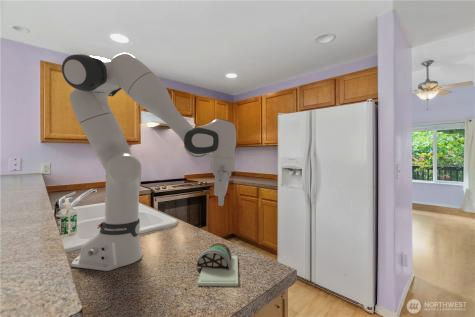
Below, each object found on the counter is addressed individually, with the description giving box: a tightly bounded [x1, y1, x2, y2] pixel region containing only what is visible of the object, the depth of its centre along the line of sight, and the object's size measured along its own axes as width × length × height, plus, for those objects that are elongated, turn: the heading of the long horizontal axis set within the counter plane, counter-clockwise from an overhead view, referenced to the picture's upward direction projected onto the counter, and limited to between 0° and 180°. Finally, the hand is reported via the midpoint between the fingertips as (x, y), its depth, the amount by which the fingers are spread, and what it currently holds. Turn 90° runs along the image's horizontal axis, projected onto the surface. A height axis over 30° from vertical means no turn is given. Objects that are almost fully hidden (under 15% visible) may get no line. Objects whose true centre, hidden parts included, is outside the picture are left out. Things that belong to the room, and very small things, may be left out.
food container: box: [195, 242, 232, 270], centre depth 79 cm, size 12×6×10 cm
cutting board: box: [197, 254, 239, 287], centre depth 76 cm, size 12×19×1 cm, turn 1°
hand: (221, 205), depth 79 cm, fingers closed
